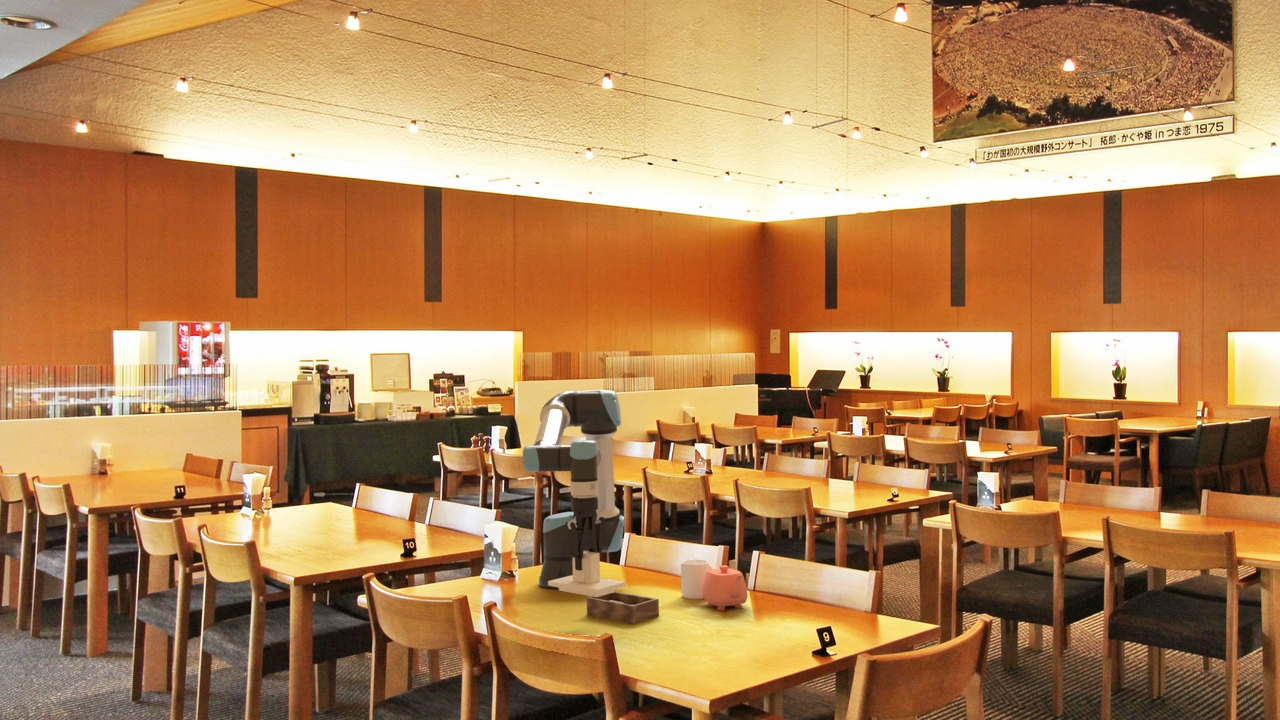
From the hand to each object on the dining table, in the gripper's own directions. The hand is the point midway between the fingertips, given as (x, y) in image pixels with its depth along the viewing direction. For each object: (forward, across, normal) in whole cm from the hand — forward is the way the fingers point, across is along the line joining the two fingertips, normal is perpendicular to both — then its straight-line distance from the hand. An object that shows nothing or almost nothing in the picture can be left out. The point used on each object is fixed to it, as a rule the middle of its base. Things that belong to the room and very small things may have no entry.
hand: (586, 580), depth 296 cm
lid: (+3, 0, 0) cm, 3 cm away
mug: (+13, +48, -3) cm, 50 cm away
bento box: (+13, +15, 0) cm, 20 cm away
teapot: (+13, +41, -18) cm, 47 cm away
